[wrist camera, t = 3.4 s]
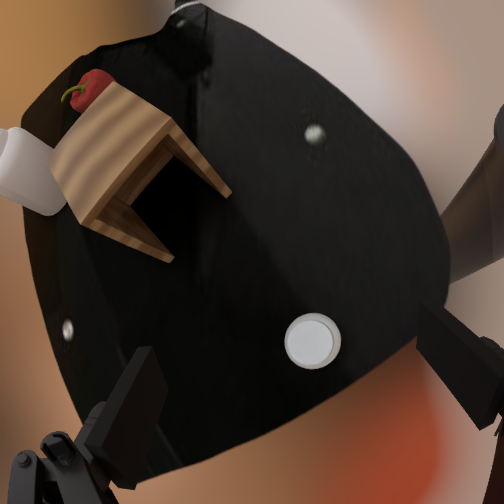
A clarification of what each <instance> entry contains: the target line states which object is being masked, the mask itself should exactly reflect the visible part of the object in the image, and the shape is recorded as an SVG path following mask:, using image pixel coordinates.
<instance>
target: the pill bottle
mask: <svg viewBox="0 0 504 504" xmlns="http://www.w3.org/2000/svg"><path fill="white" fill-rule="evenodd" d="M340 345H341V335H340V332H339V330H338V328H337V326H336V324H335V323H334V322H333V321H332V320H331V319H330V318H329V317H327V316H325V315H322V314H318V313H309V314H305V315H302V316H300V317H298V318H297V319H295V320H294V321H293V322H292V324H291V325H290V326H289V328H288V330H287V332H286V336H285V348H286V351H287V354H288V356H289V357H290V359H291V360H292V361H293V362H294V363H296V364H297V365H299V366H301V367H303V368H307V369H317V368H321V367H323V366H326V365H327V364H329V363H330V362H331V361H332V360H333V359H334V358H335V357H336V356H337V354H338V352H339V349H340Z"/></svg>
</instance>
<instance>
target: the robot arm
mask: <svg viewBox="0 0 504 504" xmlns="http://www.w3.org/2000/svg"><path fill="white" fill-rule="evenodd" d="M416 348H417V350H418V351H419V352H420V353H421V355H423V357H424V358H425V360H426V361H427V362H428V363H429V365H430V366H431V367H432V368H433V370H434V371H435V372H436V373H437V375H438V376H439V377H440V378H441V380H442V381H443V382H444V384H445V385H446V386H447V387H448V389H449V390H450V391H451V393H452V394H453V395H454V397H455V398H456V399H457V401H458V402H459V403H460V405H461V406H462V407H463V409H464V410H465V411H466V413H467V414H468V415H469V417H470V418H471V420H472V421H473V422H474V424H475V425H476V427H477V428H478V429H479V430H482V429H484V428H485V427H487V426H489V425H491V424H493V423H494V421H495V419H496V416H497V414H498V413H499V414H500V415H501V416H502V419H501V422H500V424H499V426H498V428H497V430H496V432H495V435H494V436H497V434H498V432H499V434H498V439H497V445H496V451H495V456H494V461H493V465H492V470H491V474H490V478H489V482H488V486H487V489H486V493H485V497H484V500H483V504H504V349H503V348H500V346H499V345H498V344H497V343H496V342H494V341H493V340H491V339H489V338H486V337H484V336H483V337H480V338H479V337H478V336H477V335H475V334H474V333H473V332H472V331H471V330H470V329H469V328H467V327H466V326H465V325H464V324H463V323H461V322H460V321H459V320H458V319H457V318H456V317H454V316H453V315H452V314H451V313H449V311H447V310H446V309H445V308H444V307H442V306H441V305H440V304H439V303H438V302H436V301H435V300H434V299H433V298H431V299H427V300H423V301H420V305H419V321H418V334H417V344H416ZM168 390H169V389H168V386H167V384H166V381H165V379H164V376H163V374H162V371H161V369H160V366H159V363H158V361H157V358H156V355H155V353H154V350H153V347H152V346H147V347H138V348H137V350H136V352H135V354H134V355H133V357H132V359H131V360H130V362H129V364H128V365H127V367H126V369H125V371H124V372H123V374H122V376H121V377H120V379H119V381H118V383H117V384H116V386H115V388H114V390H113V391H112V393H111V395H110V397H109V398H108V400H107V402H100V403H99V404H97V405H96V406H95V407H94V408H93V409H92V411H91V413H90V414H89V416H88V418H87V419H86V421H85V423H84V424H85V425H83V426H82V428H81V430H80V432H79V433H78V435H77V437H76V439H75V440H74V442H73V441H72V440H71V439H70V437H69V436H68V434H67V433H64V432H61V431H57V432H53V433H50V434H49V435H47V436H46V437H45V438H44V439H43V440H42V442H41V445H40V446H41V447H40V449H41V450H42V451H43V453H44V454H45V455H46V456H47V458H39V457H38V456H37V455H36V454H35V452H33V451H31V450H24V451H21V452H20V453H18V454H17V455H16V456H15V458H14V459H13V462H12V468H11V475H10V482H9V490H8V501H7V504H119V503H118V501H117V499H116V498H115V496H114V494H113V492H112V490H111V489H110V488H109V487H108V486H109V484H110V481H111V480H112V482H113V483H114V484H115V485H116V486H117V487H118V488H123V489H130V490H135V488H136V485H137V482H138V478H139V475H140V472H141V469H142V466H143V463H144V460H145V457H146V454H147V451H148V448H149V445H150V442H151V439H152V436H153V433H154V430H155V427H156V424H157V421H158V419H159V416H160V413H161V410H162V407H163V404H164V401H165V398H166V396H167V393H168Z"/></svg>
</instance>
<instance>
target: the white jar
mask: <svg viewBox="0 0 504 504" xmlns="http://www.w3.org/2000/svg"><path fill="white" fill-rule="evenodd" d="M53 150H54V149H52V148H51V147H49V146H48V145H46V144H45V143H43V142H42V141H40V140H39V139H38V138H36V137H35V136H33V135H32V134H30V133H29V132H27V131H26V130H24V129H22V128H18V127H13V128H10V129H8V130H5V129H1V128H0V195H2V196H4V197H6V198H8V199H10V200H12V201H14V202H17V203H19V204H21V205H23V206H25V207H27V208H29V209H31V210H33V211H36V212H38V213H40V214H42V215H44V216H50V215H54V214H56V213H57V212H59V211H60V210H61V209H62V208H63V207H64V206H65V204H66V203H67V200H66V199H65V197H64V195H63V193H62V191H61V190H60V188H59V186H58V184H57V182H56V180H55V178H54V177H53V175H52V173H51V171H50V169H49V167H48V165H47V163H46V159H47V158H48V157H49V155H50V154H51V153H52V151H53Z"/></svg>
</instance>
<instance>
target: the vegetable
mask: <svg viewBox="0 0 504 504" xmlns="http://www.w3.org/2000/svg"><path fill="white" fill-rule="evenodd" d="M113 81H114V82H116V81H115V80H114V79H113V77H112V76H111V75H109V74H108V73H106V72H104V71H102V70H99V69H94V70H92V71H90V72H89V73H86V74H85V75H84V76H83V77H82V79H81V81H80V82H79V84H78V85H77V86H75V87H72V88H70V89H69V90H67V91H66V92H65V93H64V95H63V96H62V99H61V102H63V101H64V100H65V99H66V96H67V95H68V94H69V93H71V92H73V96H72V99H71V102H70V103H71V106H72V107H73V109H75V110H76V111H78V112H80V113H84V112H85V111H86V110H87V108H88V107H89V106H90V105H91V104H92V103H93V102H94V101H95V100H96V98H97V97H98V96H99V95H100V94H101V93H102V92H103V91H104V90H105V89H106V88H107V87H108V86H109V85H110V84H111V83H112V82H113Z"/></svg>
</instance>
